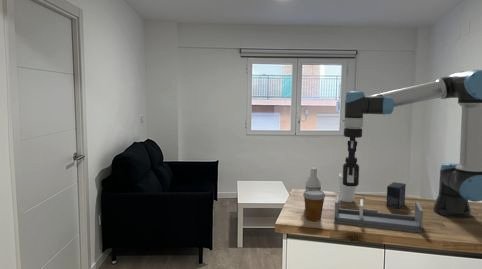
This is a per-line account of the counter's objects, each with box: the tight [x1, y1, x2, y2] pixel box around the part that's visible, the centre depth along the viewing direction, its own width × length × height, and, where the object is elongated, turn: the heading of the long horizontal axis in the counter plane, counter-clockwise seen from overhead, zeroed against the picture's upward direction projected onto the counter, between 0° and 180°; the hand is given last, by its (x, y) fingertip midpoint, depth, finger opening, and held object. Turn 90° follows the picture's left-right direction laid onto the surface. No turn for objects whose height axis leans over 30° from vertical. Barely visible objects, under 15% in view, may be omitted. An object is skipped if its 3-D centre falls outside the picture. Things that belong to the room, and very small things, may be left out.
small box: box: [386, 182, 407, 210], centre depth 183 cm, size 11×6×10 cm, turn 143°
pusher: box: [359, 198, 379, 219], centre depth 161 cm, size 7×10×7 cm
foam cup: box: [337, 173, 357, 203], centre depth 191 cm, size 10×9×13 cm
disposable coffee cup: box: [302, 189, 326, 222], centre depth 163 cm, size 10×10×12 cm
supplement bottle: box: [342, 156, 360, 187], centre depth 162 cm, size 7×7×12 cm
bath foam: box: [305, 166, 322, 191], centre depth 175 cm, size 7×7×20 cm
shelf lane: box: [333, 194, 424, 234], centre depth 160 cm, size 34×14×9 cm, turn 72°
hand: (350, 180), depth 162 cm, fingers closed on supplement bottle, 7 cm apart
